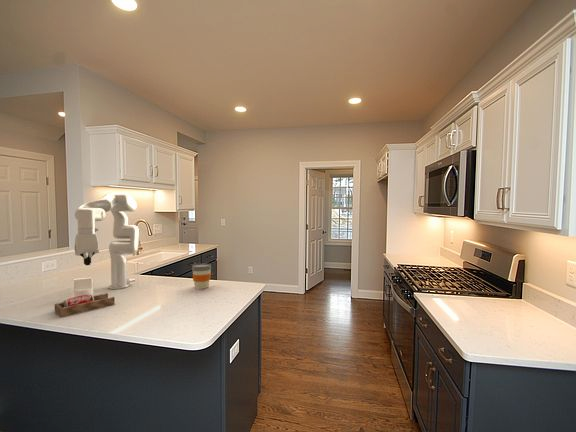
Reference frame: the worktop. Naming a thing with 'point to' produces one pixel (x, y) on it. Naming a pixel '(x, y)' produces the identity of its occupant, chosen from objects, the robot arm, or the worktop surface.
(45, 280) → the worktop surface
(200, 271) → the reusable coffee cup
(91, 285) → the cylinder with rectangular tab
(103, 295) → the u rest
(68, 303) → the soda can
